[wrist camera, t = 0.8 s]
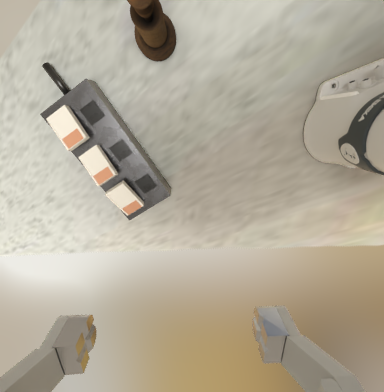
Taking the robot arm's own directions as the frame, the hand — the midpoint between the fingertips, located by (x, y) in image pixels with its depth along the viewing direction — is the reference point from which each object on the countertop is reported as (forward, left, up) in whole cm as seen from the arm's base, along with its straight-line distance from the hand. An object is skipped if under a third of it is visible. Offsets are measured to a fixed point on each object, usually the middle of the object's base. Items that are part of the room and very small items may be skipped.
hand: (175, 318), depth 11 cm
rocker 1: (+12, -16, -31) cm, 37 cm away
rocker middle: (+12, -8, -31) cm, 34 cm away
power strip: (+10, -11, -36) cm, 39 cm away
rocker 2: (+12, -1, -31) cm, 33 cm away
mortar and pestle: (-8, -20, -37) cm, 43 cm away
